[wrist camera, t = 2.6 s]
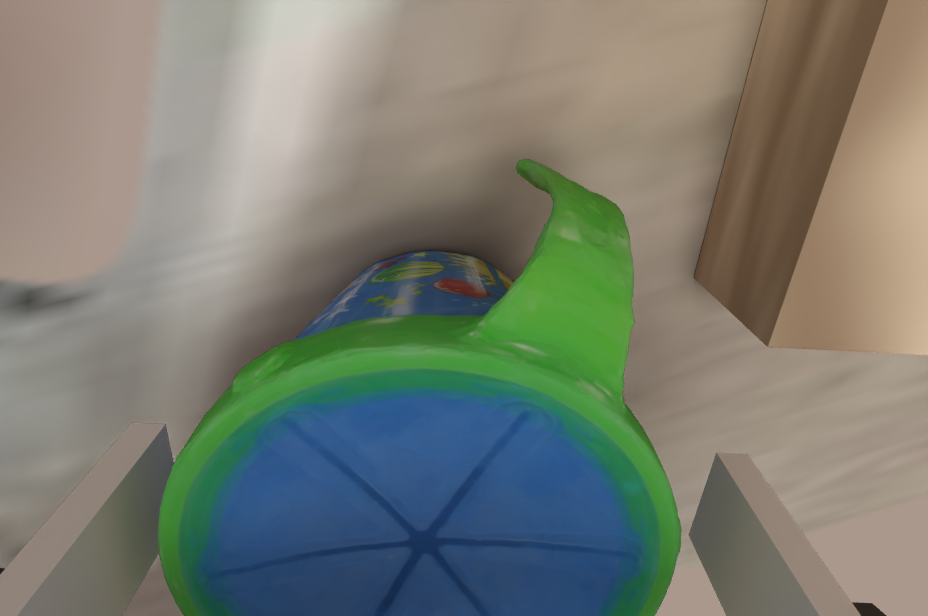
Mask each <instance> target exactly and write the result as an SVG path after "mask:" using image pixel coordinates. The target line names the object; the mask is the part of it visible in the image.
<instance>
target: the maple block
mask: <svg viewBox="0 0 928 616" xmlns="http://www.w3.org/2000/svg"><path fill="white" fill-rule="evenodd" d="M694 278H695V279H696V280H697V281H698V282H699V283H700V284H701V285H702V286H703V287H704V288H705V289H706V290H708V291H709V292H710V293H711V294H712V295H713V296H714V297H715V298H716V299H717V300H718V301H719V302H720V303H721V304H722V305H724V306H725V307H726V308H727V309H728V310H729V311H730V312H731V313H732V314H733V315H734V316H735V317H736V318H737V319H738V320H740V321H741V322H742V323H743V324H744V325H745V326H746V327H747V328H748V329H749V330H750V331H751V332H752V333H753V334H754V335H756V336H757V337H758V338H759V339H760V340H761V341H762V342H763V343H764V344H765V345H766V346H767V347H778V348H797V349H817V350H837V351H856V352H876V353H895V354H915V355H928V0H768V1H767V5H766V8H765V12H764V16H763V20H762V23H761V27H760V31H759V35H758V38H757V42H756V46H755V50H754V53H753V57H752V61H751V65H750V68H749V72H748V76H747V80H746V83H745V87H744V91H743V95H742V99H741V102H740V106H739V110H738V114H737V117H736V121H735V125H734V129H733V132H732V136H731V140H730V144H729V147H728V151H727V155H726V159H725V162H724V166H723V170H722V174H721V177H720V181H719V185H718V189H717V193H716V196H715V200H714V204H713V208H712V211H711V215H710V219H709V223H708V226H707V230H706V234H705V238H704V241H703V245H702V249H701V253H700V256H699V260H698V264H697V268H696V272H695V275H694Z"/></svg>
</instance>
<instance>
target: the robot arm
mask: <svg viewBox="0 0 928 616" xmlns="http://www.w3.org/2000/svg"><path fill="white" fill-rule="evenodd" d="M173 464H174V463H173V458H172V453H171V448H170V443H169V438H168V433H167V428H166V424H153V423H134V422H132V423H131V424H130V426H129V427H128V428H127V429H126V430H125V431H124V433H123V434H122V435H121V436H120V437H119V438H118V439H117V441H116V442H115V443H114V444H113V445H112V446H111V447H110V449H109V450H108V451H107V452H106V453H105V454H104V456H103V457H102V458H101V459H100V460H99V461H98V462H97V464H96V465H95V466H94V467H93V468H92V469H91V471H90V472H89V473H88V474H87V475H86V476H85V477H84V479H83V480H82V481H81V482H80V483H79V484H78V485H77V487H76V488H75V489H74V490H73V491H72V492H71V494H70V495H69V496H68V497H67V498H66V499H65V500H64V502H63V503H62V504H61V505H60V506H59V507H58V509H57V510H56V511H55V512H54V513H53V514H52V515H51V517H50V518H49V519H48V520H47V521H46V522H45V523H44V525H43V526H42V527H41V528H40V529H39V530H38V532H37V533H36V534H35V535H34V536H33V537H32V538H31V540H30V541H29V542H28V543H27V544H26V545H25V546H24V548H23V549H22V550H21V551H20V552H19V553H18V555H17V556H16V557H15V558H14V559H13V560H12V561H11V563H10V564H9V565H8V566H7V567H6V568H5V569H4V568H0V616H122V614H123V612H124V611H125V609H126V607H127V606H128V604H129V602H130V601H131V599H132V597H133V596H134V594H135V592H136V590H137V589H138V587H139V585H140V584H141V582H142V580H143V579H144V577H145V575H146V574H147V572H148V570H149V569H150V567H151V565H152V563H153V562H154V560H155V558H156V557H157V555H158V553H159V548H158V526H159V513H160V506H161V502H162V498H163V494H164V490H165V487H166V483H167V480H168V478H169V476H170V473H171V471H172V466H173ZM689 537H690V539H691V541H692V543H693V545H694V547H695V549H696V552H697V554H698V556H699V558H700V560H701V562H702V564H703V567H704V568H705V571H706V573H707V575H708V577H709V579H710V582H711V584H712V586H713V588H714V590H715V592H716V594H717V597H718V599H719V601H720V603H721V605H722V607H723V609H724V611H725V614H726V616H886V615H885V614H884V613H883V612H881V611H880V610H879V609H878V608H877V607H876V606H874V605H873V604H872V603H852V602H851V601H850V599H849V598H848V596H847V595H846V593H845V592H844V591H843V589H842V588H841V587H840V585H839V584H838V582H837V581H836V579H835V578H834V576H833V575H832V574H831V572H830V571H829V569H828V568H827V567H826V565H825V564H824V562H823V561H822V559H821V558H820V557H819V555H818V554H817V552H816V551H815V549H814V548H813V547H812V545H811V544H810V542H809V541H808V539H807V538H806V537H805V535H804V534H803V532H802V531H801V530H800V528H799V527H798V525H797V524H796V522H795V521H794V520H793V518H792V517H791V515H790V514H789V512H788V511H787V510H786V508H785V507H784V505H783V504H782V502H781V501H780V500H779V498H778V497H777V495H776V494H775V493H774V491H773V490H772V488H771V487H770V485H769V484H768V483H767V481H766V480H765V478H764V477H763V475H762V474H761V473H760V471H759V470H758V468H757V467H756V466H755V464H754V463H753V461H752V460H751V458H750V457H749V456H748V454H735V453H716V456H715V459H714V462H713V465H712V468H711V471H710V473H709V476H708V479H707V482H706V485H705V488H704V491H703V494H702V497H701V500H700V503H699V506H698V509H697V512H696V515H695V518H694V521H693V524H692V527H691V530H690V533H689Z"/></svg>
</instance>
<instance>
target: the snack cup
mask: <svg viewBox="0 0 928 616" xmlns="http://www.w3.org/2000/svg"><path fill="white" fill-rule="evenodd" d="M516 170H517V172H518V173H519V174H520V175H521V176H522V177H523V178H525V179H526V180H527V181H529V182H530V183H531V184H533V185H534V186H535V187H536V188H539V189H541V190H543V191H545V192H547V193H549V194H550V195H551V197H552V199H553V208H552V212H551V216H550V218H549V220H548V222H547V223H546V224H545V225H544V228H543V230H542V233H541V235H540V237H539V238H538V241H537V243H536V246H535V249H534V252H533V253H532V255H531V257H530V259H529V261H528V263H527V265H526V267H525V269H524V271H523V272H522V273H521V275H520V276H519V277H518V278H517V279H516V280H515V281H514V282H513V281H512V280H511V279H510V278H509V277H507V276H506V275H505V274H504V273H502V272H501V271H499V270H498V269H496V268H494V267H492V266H491V265H489V264H488V263H487V262H485V261H482V260H480V259H478V258H476V257H473V256H467V255H462V254H457V253H449V252H439V251H430V250H429V251H420V252H410V253H408V254H405V255H401V256H397V257H394V258H391V259H389V260H386V261H378V262H377V263H375V264H374V265H372V266H371V267H369V268H368V269H366V270H365V271H363V272H362V273H361V274H360V275H359V276H358V277H357V278H356V279H354V280H353V281H352V283H350V284H349V285H348V286H347V287H346V288H344V289H343V290H342V292H341V293H340V294H339V295H338V296H337V297H336V298H335V299H334V300H333V301H332V302H331V303H330V304H329V305H328V306H327V307H326V308H325V309H324V310H323V311H322V312H321V313H320V314H319V315H318V316H317V317H316V318H315V319H314V320H313V321H312V322H311V323H310V324H309V325H308V326H307V327H306V328H305V329H304V330H303V331H302V332H301V333H300V335H298V336H297V337H296V338H295V339H294V340H292V341H288V342H284V343H282V344H280V345H278V346H276V347H273V348H272V349H270V350H269V351H267V352H265V353H264V354H262V355H261V356H259V357H257V358H256V359H254V360H253V361H251V362H250V363H249V364H247V365H246V366H244V367H243V368H242V369H241V370H240V372H239V373H238V374H237V375H236V376H235V378H234V380H233V385H232V386H231V387H230V388H229V389H228V390H227V391H225V392H224V393H223V395H222V396H221V397H220V398H219V400H218V401H217V402H216V403H215V404H214V406H213V407H212V408H211V409H210V410H209V411H208V412H207V414H206V415H205V416H204V418H203V419H202V421H201V422H200V424H199V425H198V427H197V428H196V430H195V431H194V433H193V434H192V436H191V437H190V439H189V441H188V442H187V444H186V445H185V446H184V448H183V449H182V451H181V452H180V454H179V455H178V457H177V459H176V461H175V463H174V464H173V466H172V471H171V473H170V476H169V478H168V480H167V483H166V487H165V490H164V494H163V498H162V502H161V506H160V513H159V526H158V548H159V555H160V560H161V564H162V568H163V572H164V577H165V579H166V582H167V584H168V587H169V589H170V591H171V593H172V595H173V597H174V599H175V602H176V604H177V605H178V607H179V608H180V610H181V612H182V613H183V615H184V616H655V614H656V613H657V610H658V609H659V607H660V605H661V603H662V601H663V599H664V597H665V595H666V592H667V589H668V587H669V585H670V582H671V579H672V576H673V573H674V569H675V564H676V560H677V556H678V554H679V551H680V546H681V531H682V530H681V525H680V519H679V518H678V513H677V507H676V504H675V500H674V497H673V493H672V489H671V486H670V484H669V481H668V479H667V476H666V474H665V471H664V469H663V467H662V464H661V462H660V460H659V458H658V456H657V454H656V452H655V450H654V448H653V446H652V444H651V442H650V440H649V438H648V436H647V435H646V433H645V431H644V430H643V428H642V426H641V424H640V423H639V422H638V420H637V419H636V417H635V416H634V415H633V413H632V412H631V410H630V409H629V408H628V406H627V405H626V404H625V403H624V399H623V386H624V380H623V375H624V370H625V365H626V359H627V354H628V347H629V338H630V332H631V328H632V326H633V324H634V322H635V320H634V316H633V311H632V296H633V286H634V270H633V259H632V254H631V249H630V236H629V232H628V229H627V226H626V222H625V219H624V215H623V213H622V212H621V210H620V208H619V207H618V206H617V205H616V204H615V203H613V202H611V201H610V200H608V199H607V198H605V197H603V196H602V195H599V194H597V193H593V192H590V191H588V190H587V189H585V188H584V187H582V186H581V185H579V184H577V183H576V182H573V181H571V180H569V179H566V178H565V177H564V176H562V175H561V174H560V173H558V172H556V171H554V170H552V169H550V168H548V167H546V166H544V165H542V164H539V163H537V162H535V161H532V160H529V159H524V160H520V161H519V162H518V163H517V165H516Z"/></svg>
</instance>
